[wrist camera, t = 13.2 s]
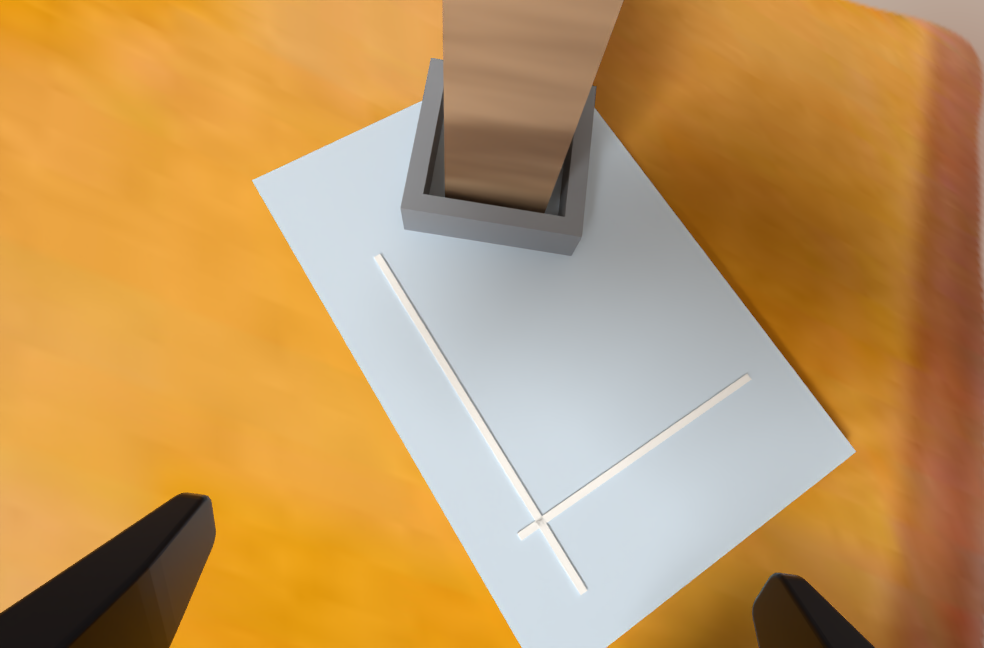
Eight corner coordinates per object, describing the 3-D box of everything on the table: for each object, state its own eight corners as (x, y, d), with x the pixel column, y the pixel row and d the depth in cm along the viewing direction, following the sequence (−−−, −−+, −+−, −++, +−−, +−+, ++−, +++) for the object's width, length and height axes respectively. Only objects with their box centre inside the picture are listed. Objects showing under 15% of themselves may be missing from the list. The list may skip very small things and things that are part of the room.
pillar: (542, 219, 24) (641, -48, 12) (444, 204, 24) (441, -83, 12) (551, 136, 26) (650, -185, 13) (459, 121, 25) (470, -219, 13)
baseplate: (842, 452, 23) (894, 449, 21) (544, 684, 20) (559, 717, 17) (539, 50, 28) (548, 4, 25) (254, 183, 24) (230, 148, 22)
